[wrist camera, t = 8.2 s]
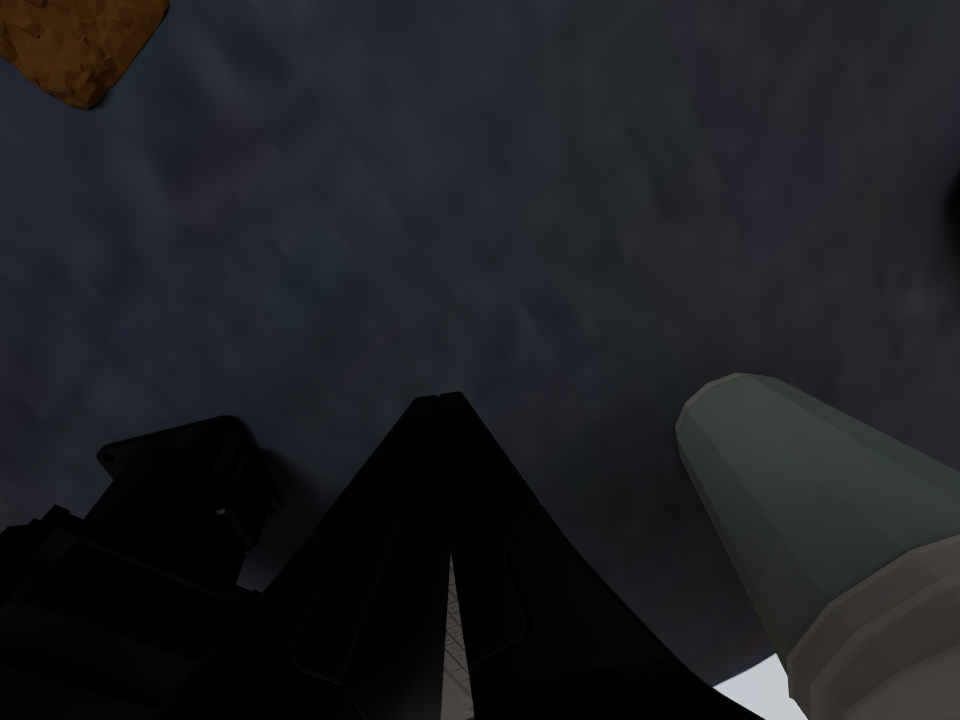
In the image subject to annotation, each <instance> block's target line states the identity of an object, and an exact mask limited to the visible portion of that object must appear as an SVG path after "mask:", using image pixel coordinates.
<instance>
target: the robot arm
mask: <svg viewBox="0 0 960 720" xmlns="http://www.w3.org/2000/svg"><path fill="white" fill-rule="evenodd" d="M221 425H227V426H228V427H229V428H224V427H222V426H221ZM109 454H112V455H113V456H114V457H113V456H110V455H109ZM97 459H98V461H99V462H100V464H101V465H102V466H103V467H104V469H105V470H106V471H107V472H108V474H109V475H110V476H111V477H112V479H113V480H114V481H113V482H112V483H111V485H110V486H109V487H108V488H107V490H106V491H105V492H104V494H103V495H102V496H101V497H100V499H99V500H98V501H97V503H96V504H95V505H94V506H93V508H92V509H91V510H90V511H89V513H88V514H87V515H86V517H85V518H84V519H81V518H78V517H76V516H74V515H71V514H69V512H70V510H67V509H65V508H63V507H60V506H58V505H56V504H55V505H54V506H53V507H52V508H51V509H50V510H49V512H48V513H47V514H46V515H45V516H44V517H43V518H42V519H41V520H38V519H35V518H34V519H33V520H32V521H31V522H30V523H29V524H28V525H19V526H8V527H7V528H6V529H5V530H4V531H3V532H2V533H1V534H0V720H441V706H442V690H443V673H444V657H445V640H446V624H447V607H448V591H449V574H450V558H451V557H452V564H453V571H454V578H455V585H456V592H457V598H458V605H459V612H460V619H461V626H462V633H463V640H464V646H465V653H466V660H467V667H468V672H469V681H470V688H471V695H472V703H473V711H474V720H765V719H764V718H762V717H760V716H759V715H757V714H755V713H753V712H752V711H749V710H748V709H746V708H745V707H743V706H741V705H740V704H738V703H736V702H734V701H733V700H731V699H729V698H728V697H726V696H725V695H723V694H721V693H720V692H718V691H717V690H716V689H714V688H713V687H711V686H710V685H709V684H707V683H706V682H704V681H703V680H702V679H701V678H700V677H698V676H697V675H696V674H695V673H694V672H692V671H691V670H690V669H689V668H688V667H687V666H686V665H685V664H684V663H683V662H681V661H680V660H679V659H678V658H677V657H676V656H675V655H674V654H673V653H672V652H671V651H670V650H669V649H668V648H667V647H666V646H665V645H664V644H663V642H662V641H661V640H660V639H659V638H658V637H657V636H656V635H655V634H654V633H653V632H652V631H651V630H650V629H649V628H648V627H647V626H646V625H645V623H644V622H643V621H642V620H641V619H640V618H639V617H638V616H637V615H636V614H635V613H634V612H633V611H632V610H631V609H630V608H629V607H628V605H627V604H626V603H625V602H624V601H623V600H622V599H621V598H620V597H619V596H618V595H617V594H616V593H615V592H614V591H613V590H612V589H611V588H610V586H609V585H608V584H607V583H606V582H605V581H604V580H603V579H602V578H601V577H600V576H599V575H598V574H597V573H596V572H595V570H594V569H593V568H592V567H591V566H590V565H589V564H588V563H587V561H586V560H585V559H584V558H583V557H582V556H581V555H580V553H579V552H578V551H577V550H576V549H575V548H574V547H573V545H572V544H571V543H570V542H569V540H568V539H567V538H566V536H565V535H564V534H563V532H562V531H561V530H560V529H559V527H558V526H557V525H556V523H555V522H554V521H553V519H552V518H551V517H550V515H549V514H548V512H547V511H546V509H545V508H544V507H543V506H542V505H540V502H539V500H538V499H537V497H536V496H535V494H534V493H533V492H532V490H531V489H530V487H529V486H528V485H527V483H526V482H525V480H524V479H523V478H522V476H521V475H520V473H519V472H518V471H517V469H516V468H515V466H514V465H513V464H512V462H511V461H510V459H509V458H508V457H507V455H506V454H505V452H504V451H503V450H502V448H501V447H500V445H499V444H498V442H497V441H496V440H495V438H494V437H493V435H492V434H491V433H490V431H489V430H488V428H487V427H486V426H485V424H484V423H483V421H482V420H481V419H480V417H479V416H478V414H477V413H476V412H475V410H474V409H473V407H472V406H471V405H470V403H469V402H468V400H467V399H466V398H465V396H464V395H463V393H461V392H459V391H458V392H451V393H444V394H441V395H440V396H439V397H438V396H436V395H431V396H424V397H418V398H416V399H414V400H413V402H412V403H411V404H410V406H409V407H408V408H407V409H406V411H405V412H404V413H403V415H402V416H401V417H400V418H399V420H398V421H397V422H396V424H395V425H394V426H393V427H392V429H391V430H390V431H389V433H388V434H387V435H386V437H385V438H384V439H383V440H382V442H381V443H380V444H379V446H378V447H377V448H376V449H375V451H374V452H373V453H372V455H371V456H370V457H369V458H368V460H367V461H366V462H365V464H364V465H363V466H362V468H361V469H360V470H359V471H358V473H357V474H356V475H355V477H354V478H353V479H352V480H351V482H350V483H349V484H348V486H347V487H346V488H345V489H344V491H343V492H342V493H341V495H340V496H339V497H338V499H337V500H336V501H335V502H334V504H333V505H332V506H331V508H330V509H329V510H328V511H327V513H326V514H325V515H324V517H323V518H322V519H321V520H320V522H319V523H318V524H317V526H316V527H315V528H314V530H313V531H312V532H311V534H310V535H311V537H308V538H306V540H305V541H304V542H303V543H302V545H301V546H300V547H299V549H298V550H297V551H296V552H295V554H294V555H293V556H292V558H291V559H290V560H289V561H288V562H287V564H286V565H285V566H284V567H283V569H282V570H281V571H280V572H279V574H278V575H277V576H276V577H275V578H274V580H273V581H272V582H271V583H270V585H269V586H268V587H267V588H266V589H265V590H264V592H263V593H261V592H259V591H256V590H253V591H250V590H248V589H245V588H243V587H241V586H238V585H236V582H237V579H238V576H239V573H240V571H241V568H242V565H243V562H244V559H245V557H246V554H248V553H251V552H253V551H254V550H255V548H256V546H257V544H258V541H259V538H260V535H261V532H262V529H263V526H264V523H265V520H266V519H268V518H272V517H276V516H278V515H280V514H281V511H282V508H283V502H282V500H281V498H280V497H279V495H278V493H277V491H276V488H277V487H276V485H275V483H274V481H273V479H272V478H271V476H270V474H269V472H268V471H267V469H266V467H265V465H264V464H263V462H262V460H261V458H260V456H259V455H258V453H257V452H256V451H254V450H253V449H252V448H251V446H250V444H249V442H248V441H247V439H246V437H245V435H244V434H243V432H242V430H241V428H240V427H239V425H238V423H237V421H236V420H235V419H234V418H232V417H230V416H226V415H224V416H218V417H214V418H210V419H206V420H202V421H198V422H194V423H190V424H187V425H183V426H179V427H175V428H171V429H167V430H163V431H159V432H155V433H151V434H147V435H143V436H139V437H135V438H131V439H127V440H123V441H119V442H115V443H111V444H107V445H105V446H103V447H102V448H101V450H100V451H99V452H98V453H97ZM272 506H273V507H275V508H271V507H272Z"/></svg>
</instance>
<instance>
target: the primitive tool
mask: <svg viewBox="0 0 960 720" xmlns="http://www.w3.org/2000/svg"><path fill="white" fill-rule="evenodd" d="M169 4H170V3H169V0H0V56H1V57H2V58H4V59H6V60H8V61H10V62H11V63H12V64H13V65H14V66H15V67H17V68H18V69H19V70H20V72H21V73H22V74H23V76H24V77H25V78H26V79H28V80H29V81H30V82H31V83H33V84H34V85H35V86H37V87H38V88H39V89H41V90H42V91H43V92H46V93H50V94H52V95H54V96H55V97H57V98H58V99H60V100H61V101H63V102H65V103H66V104H68V105H69V106H72V107H76V108H86V109H88V108H89V107H90V106H92V105H95V104H96V103H97V102H98V101H99V100H100V99H101V98H102V96H103V94H104V92H105V91H106V90H108V89H110V88H111V87H112V86H113V85H114V84H115V83H116V82H118V81H119V80H120V78H121V77H122V76H123V74H124V73H125V72H126V70H127V69H128V67H129V65H130V63H131V62H132V61H133V60H134V59H135V57H136V56H137V55H138V54H139V52H140V51H141V50H142V49H143V47H144V46H145V44H146V43H147V42H148V40H149V39H150V38H151V36H152V35H153V33H154V32H155V30H156V29H157V27H158V25H159V23H160V22H161V20H162V18H163V15H164V13H165V11H166V10H167V8H168V6H169Z"/></svg>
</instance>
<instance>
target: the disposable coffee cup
mask: <svg viewBox="0 0 960 720" xmlns="http://www.w3.org/2000/svg"><path fill="white" fill-rule="evenodd" d="M675 430H676V439H677V444H678V449H679V454H680V458H681V461H682V463H683V465H684V467H685V469H686V471H687V473H688V475H689V477H690V479H691V481H692V483H693V485H694V487H695V489H696V491H697V493H698V495H699V497H700V499H701V501H702V503H703V505H704V507H705V509H706V511H707V513H708V515H709V517H710V520H711V522H712V524H713V526H714V528H715V530H716V532H717V534H718V536H719V538H720V540H721V542H722V544H723V546H724V548H725V550H726V552H727V554H728V556H729V558H730V560H731V562H732V564H733V566H734V568H735V570H736V572H737V574H738V576H739V578H740V581H741V583H742V585H743V587H744V589H745V591H746V593H747V595H748V597H749V599H750V601H751V603H752V605H753V607H754V609H755V611H756V613H757V615H758V617H759V619H760V621H761V623H762V625H763V627H764V629H765V631H766V633H767V635H768V637H769V640H770V642H771V644H772V646H773V648H774V650H775V652H776V654H777V656H778V658H779V660H780V662H781V664H782V666H783V668H784V670H785V672H786V674H787V676H788V688H789V697H790V698H792V699H794V700H795V702H796V703H797V704H798V706H799V707H800V709H801V710H802V712H803V713H804V714H805V715H806V717H807V719H808V720H960V472H958V471H956V470H954V469H952V468H950V467H948V466H947V465H945V464H943V463H941V462H939V461H937V460H935V459H933V458H931V457H929V456H927V455H925V454H923V453H921V452H919V451H917V450H915V449H913V448H911V447H909V446H907V445H906V444H904V443H902V442H900V441H898V440H896V439H894V438H892V437H890V436H888V435H886V434H884V433H882V432H880V431H878V430H876V429H874V428H872V427H870V426H868V425H867V424H865V423H863V422H861V421H859V420H857V419H855V418H853V417H851V416H849V415H847V414H845V413H843V412H841V411H839V410H837V409H835V408H833V407H831V406H829V405H827V404H826V403H824V402H822V401H820V400H818V399H816V398H814V397H812V396H810V395H808V394H806V393H804V392H802V391H800V390H798V389H796V388H794V387H792V386H790V385H788V384H787V383H785V382H783V381H781V380H779V379H777V378H775V377H765V376H762V375H756V374H746V373H737V372H736V373H733V374H730V375H727V376H725V377H722V378H719V379H716V380H714V381H711V382H708V383H707V384H705V385H704V386H703V387H702V388H701V389H700V390H699V391H698V392H697V393H695V394H694V395H693V396H692V397H691V398H690V399H689V400H688V401H686V402H685V404H684V406H683V408H682V411H681V413H680V415H679V418H678V420H677V422H676V425H675Z"/></svg>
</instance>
